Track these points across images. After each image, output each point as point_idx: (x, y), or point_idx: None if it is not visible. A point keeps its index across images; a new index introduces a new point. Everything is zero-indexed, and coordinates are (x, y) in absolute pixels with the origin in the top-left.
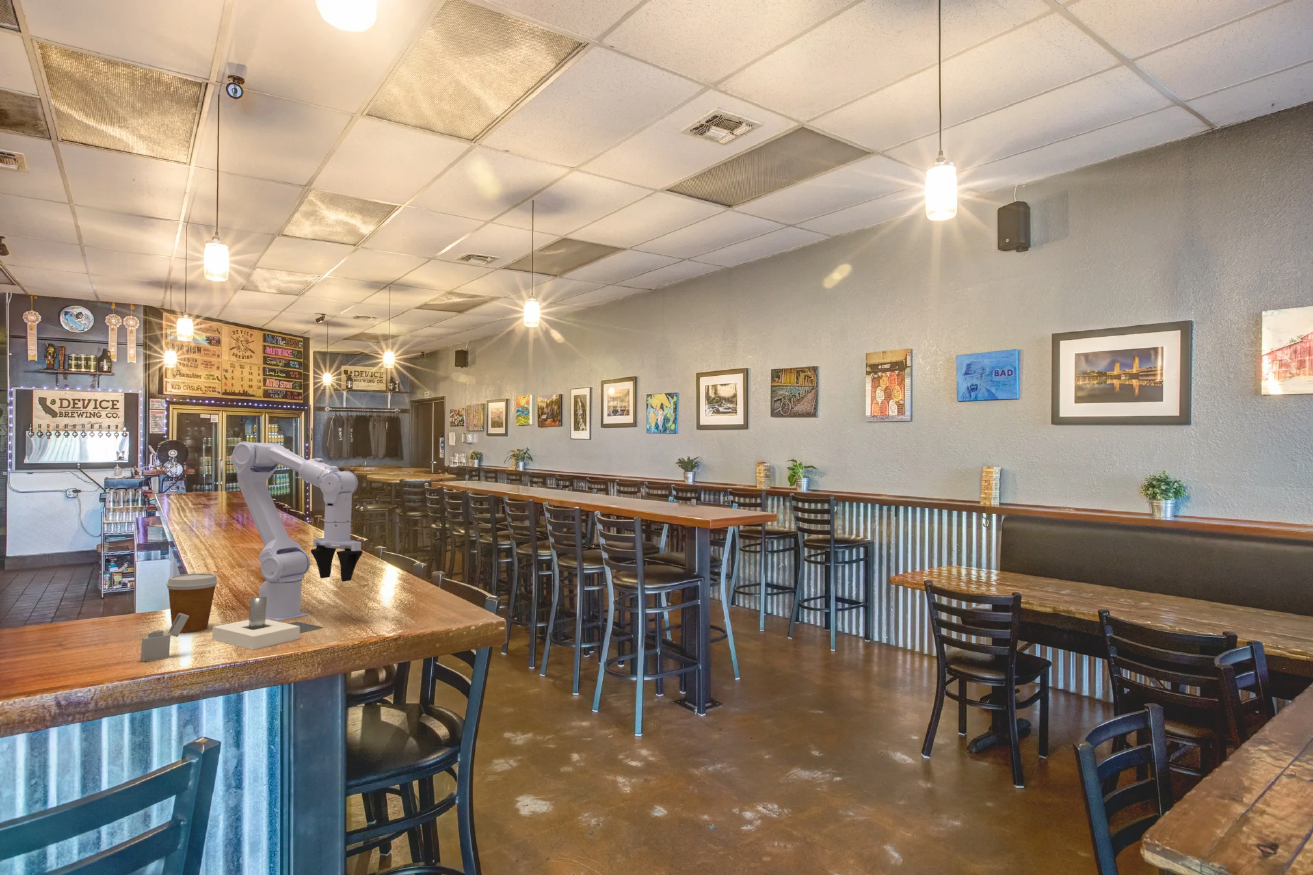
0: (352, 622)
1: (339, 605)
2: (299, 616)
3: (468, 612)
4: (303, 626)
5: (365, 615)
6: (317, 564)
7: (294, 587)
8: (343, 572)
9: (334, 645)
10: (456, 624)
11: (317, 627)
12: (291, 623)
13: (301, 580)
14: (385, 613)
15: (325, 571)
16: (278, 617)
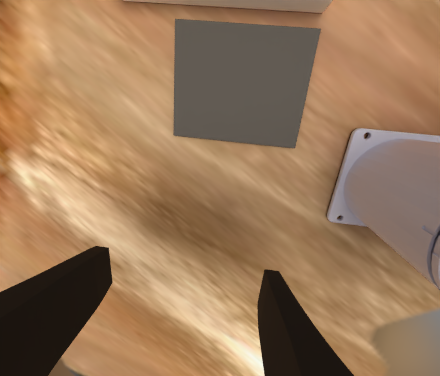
0: (179, 215)
1: (338, 320)
2: (334, 193)
3: (73, 348)
4: (230, 114)
5: (208, 273)
6: (321, 343)
7: (410, 219)
8: (42, 272)
9: (12, 20)
10: (11, 280)
11: (189, 125)
12: (290, 123)
13: (432, 280)
14: (187, 299)
15: (267, 316)
16: (374, 146)
